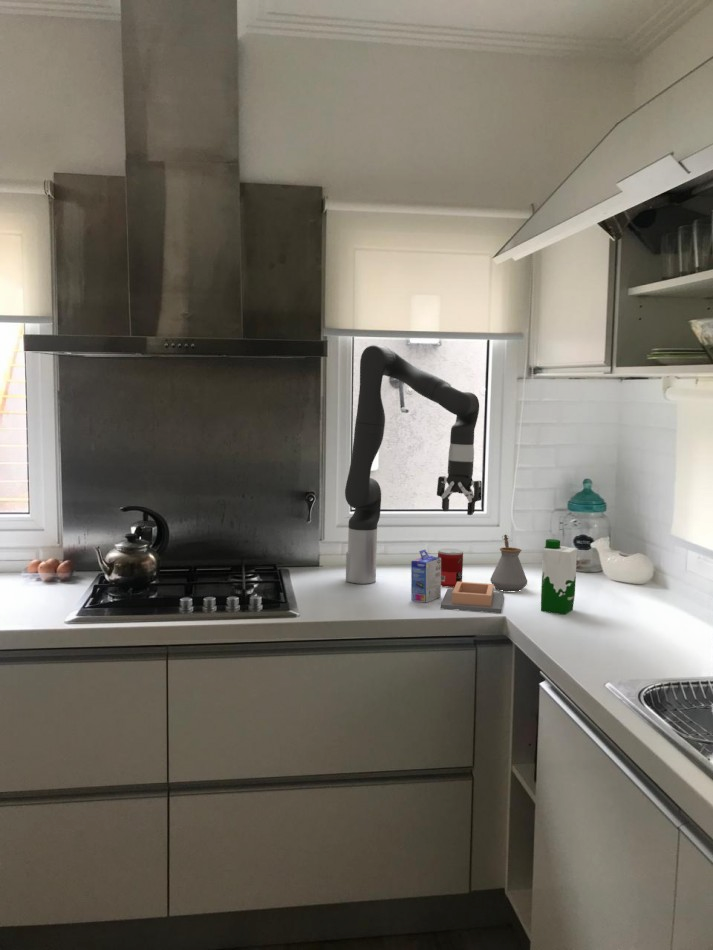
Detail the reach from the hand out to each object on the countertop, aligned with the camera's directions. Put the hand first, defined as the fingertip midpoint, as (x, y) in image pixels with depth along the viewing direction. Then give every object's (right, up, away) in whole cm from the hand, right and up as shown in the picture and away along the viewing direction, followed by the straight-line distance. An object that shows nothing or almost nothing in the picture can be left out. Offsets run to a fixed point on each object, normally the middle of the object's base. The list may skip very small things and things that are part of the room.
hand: (457, 512), depth 250 cm
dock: (+4, -26, -6) cm, 27 cm away
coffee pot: (+18, -24, +17) cm, 35 cm away
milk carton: (+27, -28, -13) cm, 40 cm away
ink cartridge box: (-10, -26, -3) cm, 28 cm away
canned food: (-1, -24, +17) cm, 29 cm away
